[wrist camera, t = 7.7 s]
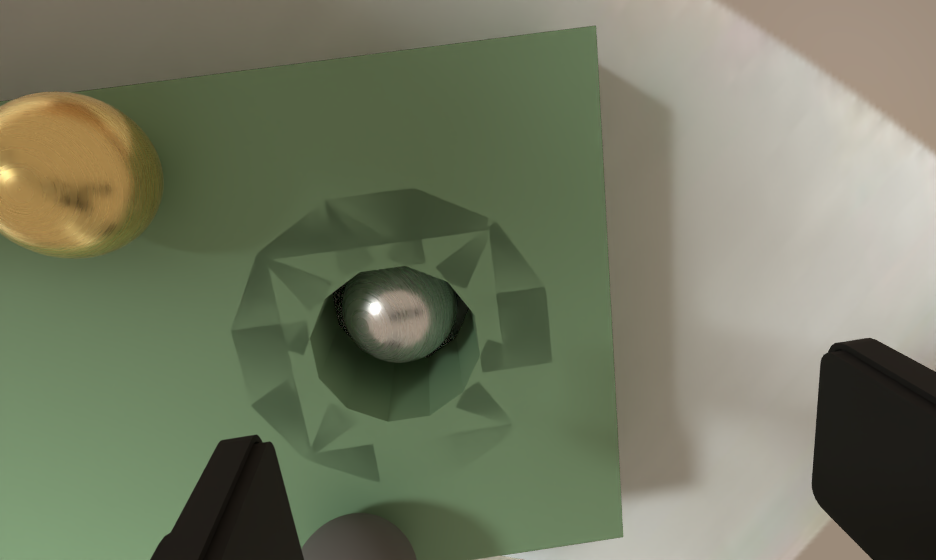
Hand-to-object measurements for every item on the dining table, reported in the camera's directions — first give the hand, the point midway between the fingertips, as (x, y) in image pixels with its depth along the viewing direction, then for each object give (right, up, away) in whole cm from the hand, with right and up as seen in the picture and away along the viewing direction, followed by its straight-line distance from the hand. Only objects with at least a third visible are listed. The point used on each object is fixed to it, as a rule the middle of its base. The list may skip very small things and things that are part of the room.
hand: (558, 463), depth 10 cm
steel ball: (-4, +2, +8) cm, 9 cm away
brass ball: (-10, +5, +3) cm, 12 cm away
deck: (-8, +2, +10) cm, 13 cm away
